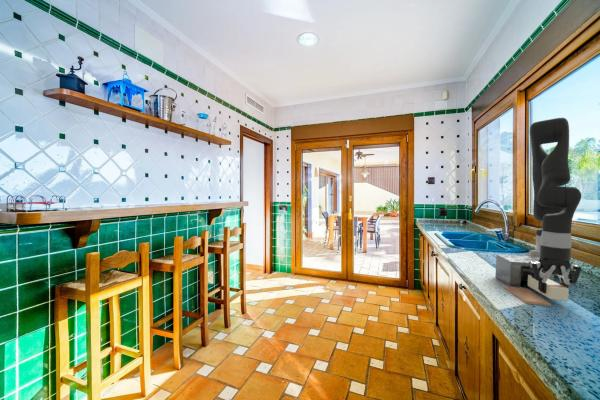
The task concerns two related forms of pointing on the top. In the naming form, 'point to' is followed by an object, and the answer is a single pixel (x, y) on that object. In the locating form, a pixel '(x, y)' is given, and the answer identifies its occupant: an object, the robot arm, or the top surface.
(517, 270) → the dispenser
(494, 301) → the top surface
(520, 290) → the tile
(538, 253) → the energy drink
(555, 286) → the cream box
